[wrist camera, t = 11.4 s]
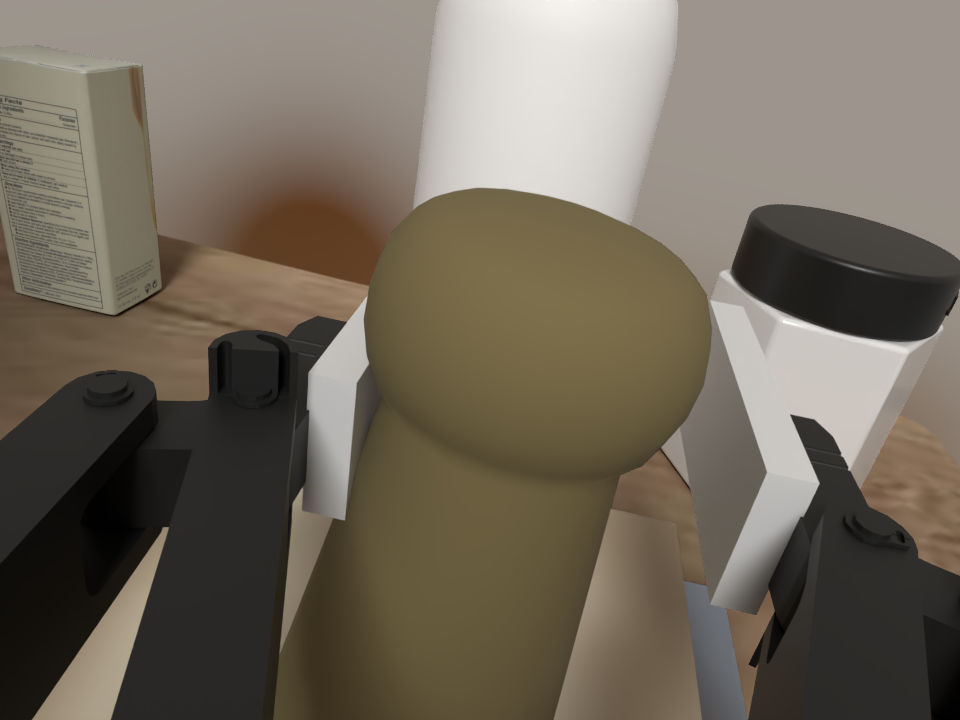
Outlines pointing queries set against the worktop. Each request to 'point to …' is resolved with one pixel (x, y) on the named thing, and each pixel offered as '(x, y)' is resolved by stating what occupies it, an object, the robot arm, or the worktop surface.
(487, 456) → the cork
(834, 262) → the jar
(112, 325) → the worktop surface
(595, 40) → the alcohol
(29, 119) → the skincare box
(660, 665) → the plinth
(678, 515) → the worktop surface
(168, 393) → the worktop surface
